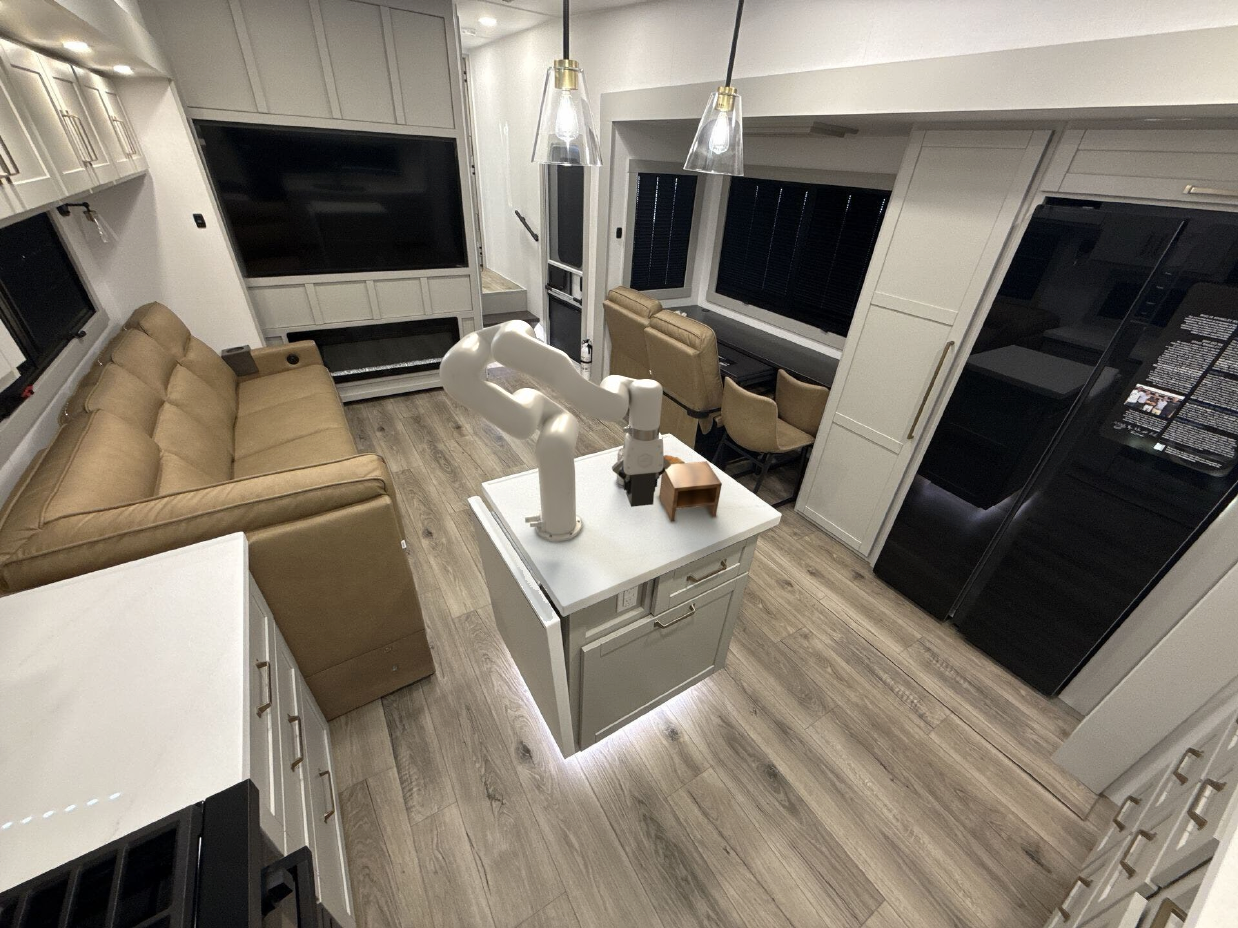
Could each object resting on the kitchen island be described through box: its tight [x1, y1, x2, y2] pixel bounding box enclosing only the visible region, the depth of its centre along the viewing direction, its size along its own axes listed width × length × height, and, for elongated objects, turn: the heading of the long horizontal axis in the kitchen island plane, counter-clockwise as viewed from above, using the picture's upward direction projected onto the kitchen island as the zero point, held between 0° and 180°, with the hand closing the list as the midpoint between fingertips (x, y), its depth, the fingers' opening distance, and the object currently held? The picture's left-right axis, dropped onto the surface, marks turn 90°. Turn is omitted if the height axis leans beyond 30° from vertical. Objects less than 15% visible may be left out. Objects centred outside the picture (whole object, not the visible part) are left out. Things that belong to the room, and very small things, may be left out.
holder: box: [625, 473, 656, 508], centre depth 126 cm, size 6×6×10 cm
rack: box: [658, 461, 723, 523], centre depth 143 cm, size 14×12×12 cm
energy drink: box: [616, 447, 624, 489], centre depth 152 cm, size 5×5×12 cm
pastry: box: [663, 454, 686, 464], centre depth 164 cm, size 9×7×4 cm
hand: (640, 489), depth 127 cm, fingers closed on holder, 6 cm apart
